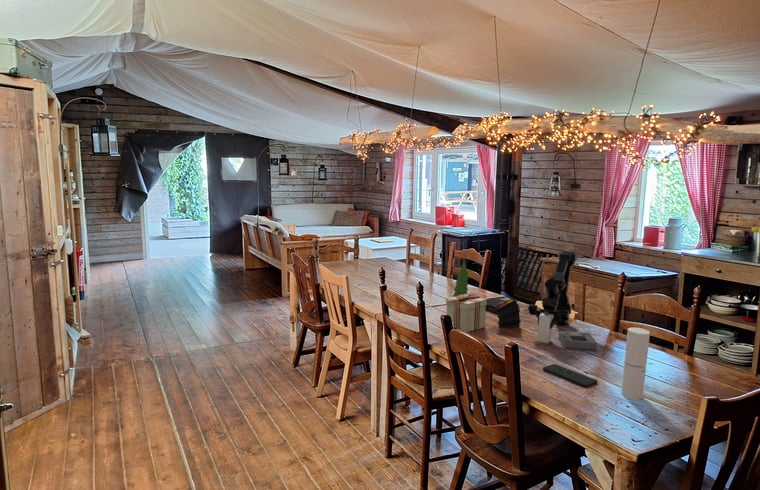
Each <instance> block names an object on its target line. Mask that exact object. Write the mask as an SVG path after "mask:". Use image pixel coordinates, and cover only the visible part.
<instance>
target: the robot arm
mask: <svg viewBox="0 0 760 490" xmlns="http://www.w3.org/2000/svg"><path fill="white" fill-rule="evenodd" d="M558 253H559V254H558V263H557V266H556V269H555V272H554V273H553V274H552V275H551V276H550V278H549V279H547V280H546V281H545V282H544V286H545V287H544V288H545V292H546V297H543V298H542V301H541V306H542V308H540V307H539V306H538V305H537V304H529V305H528V308H527V309H528V312H529V315H532V316H535V317H536V318H537V325H538V327H537V328H539V315H540V314H541V313H544V311H548V314H552V315H553V318H552V322H551V324H550V329H551V328H552V329H553V327H554V326H555V325H559V326H567V325H570V322H569V321H570V315H571V314H572V306H571V303H570V298H569V296H568V293H569V292H568V291H569V284H570V280H571V271H572V268H573V267H574V266H575V265H576V262H577V261H578V254H577V253H576V251H568V250H567V251H566V250H562V252H558Z"/></svg>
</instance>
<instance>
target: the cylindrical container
mask: <svg viewBox="0 0 760 490" xmlns="http://www.w3.org/2000/svg"><path fill="white" fill-rule="evenodd" d="M650 334H651V331H649V330H647V329H645V328H641V327H629V328H627V335H626V345H625V353H624V362H623V363H624V364H623V370H622V371H623V372H622V373H623V374H622V382H621V391H620V392H621V396H623V398H626V399H629V400H634V401H640V400H639V399H641V400H642V399H643V396H644V389H645V379H646V373H647V372H646V371H647V370H646V369H647V364H648V363H647V362H648V353H649V344H650V336H651V335H650Z"/></svg>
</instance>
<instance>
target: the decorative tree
mask: <svg viewBox="0 0 760 490" xmlns="http://www.w3.org/2000/svg"><path fill="white" fill-rule="evenodd" d="M468 281H469V272H468V269H467V264H466V259H464V260H463V262H462V265H461V268H460V270H459V272H458V275H457V279H456V281H455V283H454V284H455V287H454V289H453V291H454V293H453V295H452V297H455V296H458V295H464V294H466V295H469V294H468V290H469V288H468V286H469V284H468Z"/></svg>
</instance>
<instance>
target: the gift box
mask: <svg viewBox="0 0 760 490" xmlns="http://www.w3.org/2000/svg"><path fill="white" fill-rule="evenodd" d="M444 300H445V302H446V303H445V305H446V315H447V314H449V315H450V316H451V318H452V322H453V326H454V328H453V329H455V328H456V329H455V330H458V329H460V330H459V331H461V330H463V331H462V332H464V331H466V332H465V333H470V331H471V332H474V331H477V330H480V329H483V328H485V327H486V314H487V313H486V312H487V310H486V305H487V300H488V299H487V298H486V299H485V298H482V297H481V296H480V295H478V294H477V293H476V292H471V293H469V294H468V295H466V294H464V295H458V296H455V297H453V296H452V297H448V298H446V299H444ZM476 329H477V330H476ZM473 330H474V331H473Z"/></svg>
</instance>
